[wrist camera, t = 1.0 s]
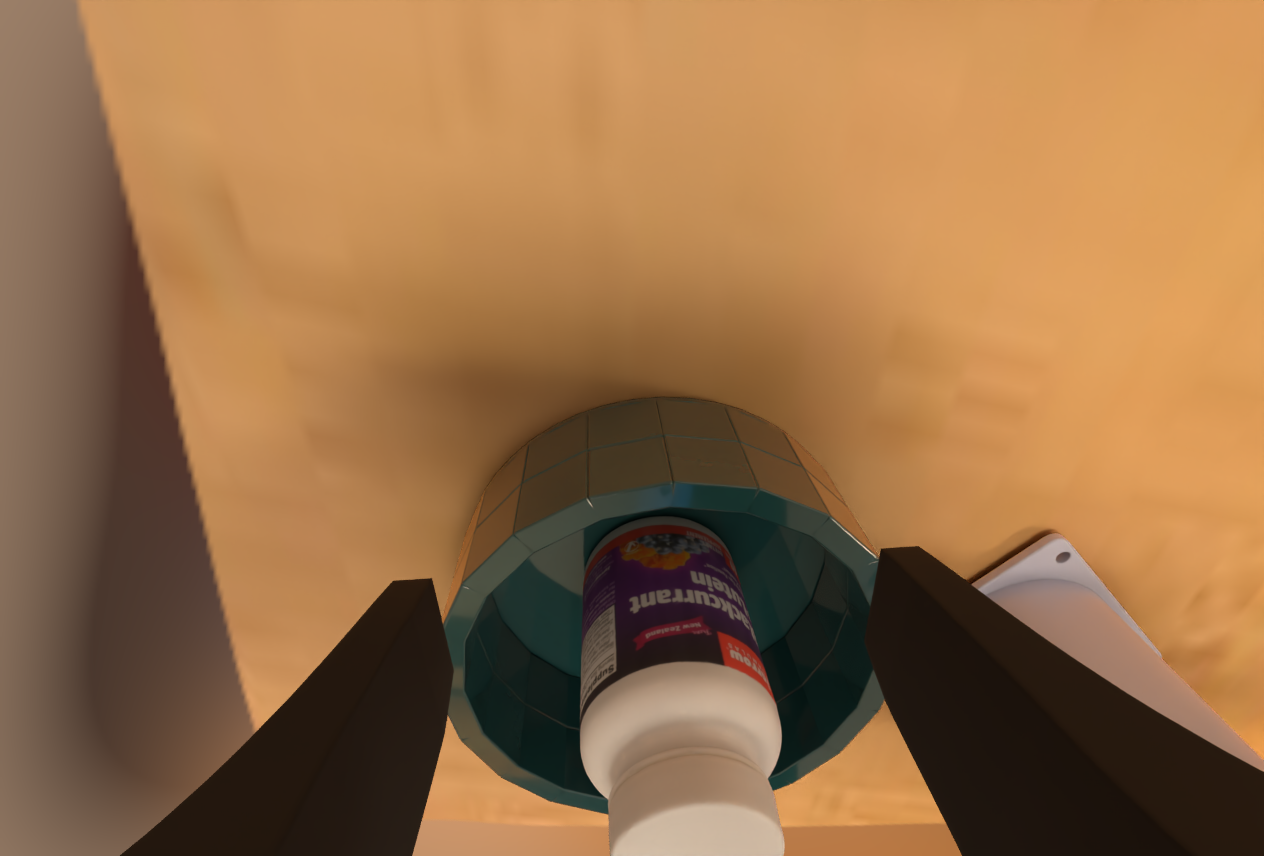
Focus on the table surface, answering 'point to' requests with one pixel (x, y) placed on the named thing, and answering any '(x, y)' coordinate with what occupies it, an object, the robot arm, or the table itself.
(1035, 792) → the robot arm
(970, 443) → the table surface
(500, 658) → the pot
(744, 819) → the pill bottle
